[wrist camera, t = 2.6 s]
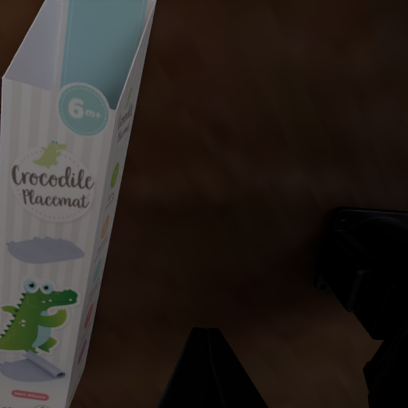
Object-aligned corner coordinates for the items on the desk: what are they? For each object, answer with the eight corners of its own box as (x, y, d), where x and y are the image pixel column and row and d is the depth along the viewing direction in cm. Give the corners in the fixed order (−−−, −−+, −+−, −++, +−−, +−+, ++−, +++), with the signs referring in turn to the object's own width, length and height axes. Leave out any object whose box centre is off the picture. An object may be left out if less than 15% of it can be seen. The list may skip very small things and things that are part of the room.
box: (27, 357, 22) (70, -90, 12) (84, 367, 23) (166, -53, 13) (-10, 418, 18) (11, -179, 8) (61, 427, 19) (156, -119, 9)
